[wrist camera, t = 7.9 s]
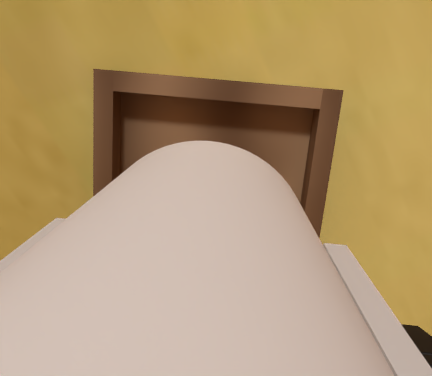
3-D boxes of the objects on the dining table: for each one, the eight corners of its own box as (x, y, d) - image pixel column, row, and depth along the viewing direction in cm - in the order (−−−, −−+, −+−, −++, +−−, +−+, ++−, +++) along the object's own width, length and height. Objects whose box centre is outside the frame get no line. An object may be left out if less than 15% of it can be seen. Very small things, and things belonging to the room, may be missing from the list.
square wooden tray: (105, 273, 25) (93, 291, 23) (107, 70, 22) (93, 69, 20) (300, 291, 25) (307, 311, 23) (332, 89, 22) (343, 90, 20)
